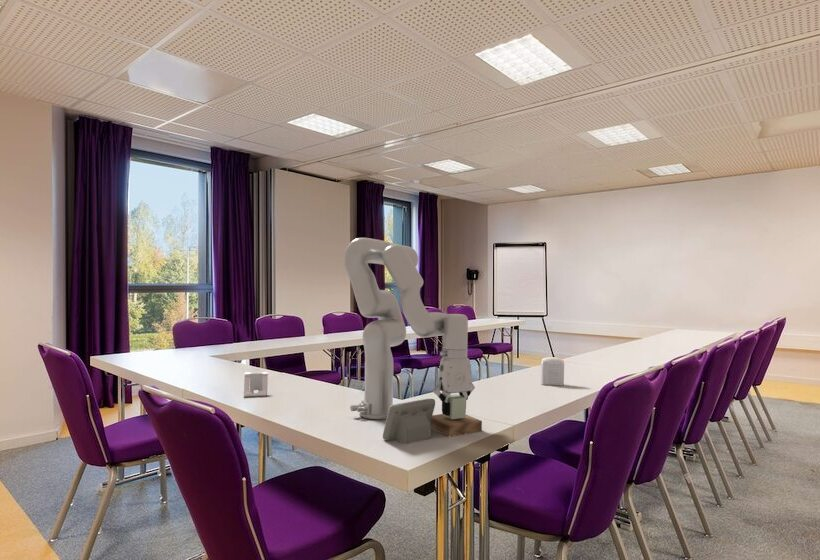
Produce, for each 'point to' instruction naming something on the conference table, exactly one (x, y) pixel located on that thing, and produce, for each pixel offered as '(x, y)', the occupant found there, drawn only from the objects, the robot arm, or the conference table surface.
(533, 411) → the conference table surface
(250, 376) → the portable electronic device stand
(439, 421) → the wooden square slab
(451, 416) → the sage block
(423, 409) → the digital clock
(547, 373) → the photo printer
